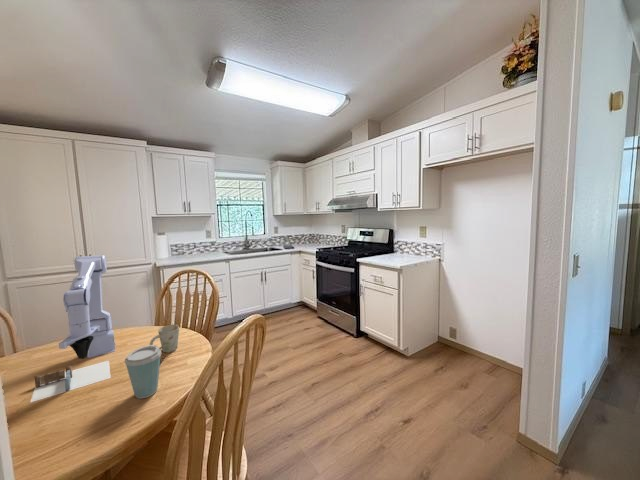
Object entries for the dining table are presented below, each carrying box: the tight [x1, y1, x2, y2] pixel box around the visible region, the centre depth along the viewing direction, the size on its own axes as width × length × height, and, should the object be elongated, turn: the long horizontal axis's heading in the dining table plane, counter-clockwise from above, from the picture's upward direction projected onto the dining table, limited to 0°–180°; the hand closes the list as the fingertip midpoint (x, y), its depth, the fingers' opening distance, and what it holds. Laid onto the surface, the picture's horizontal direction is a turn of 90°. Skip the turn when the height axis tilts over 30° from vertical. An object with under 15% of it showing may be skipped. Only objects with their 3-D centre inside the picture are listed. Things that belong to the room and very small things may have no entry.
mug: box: [149, 324, 180, 353], centre depth 122 cm, size 8×13×10 cm, turn 148°
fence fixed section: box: [34, 365, 72, 388], centre depth 99 cm, size 10×2×4 cm, turn 130°
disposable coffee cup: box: [124, 344, 163, 399], centre depth 93 cm, size 11×11×15 cm
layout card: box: [30, 360, 112, 404], centre depth 102 cm, size 21×16×1 cm
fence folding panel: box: [65, 370, 71, 390], centre depth 98 cm, size 9×1×4 cm, turn 41°
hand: (82, 357), depth 99 cm, fingers closed
